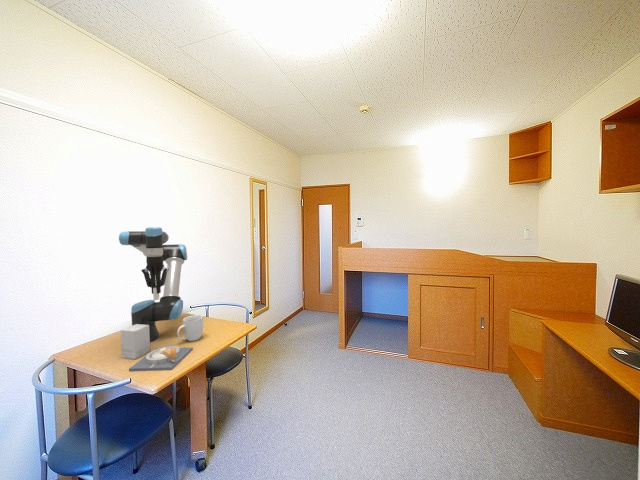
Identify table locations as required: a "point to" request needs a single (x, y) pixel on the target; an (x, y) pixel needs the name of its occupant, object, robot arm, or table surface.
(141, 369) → the panel
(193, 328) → the mug
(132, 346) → the supplement box
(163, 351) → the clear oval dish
